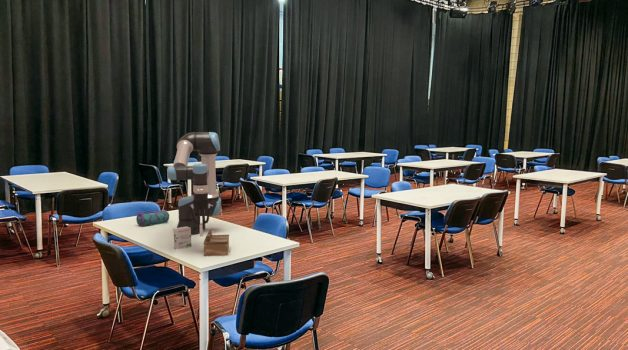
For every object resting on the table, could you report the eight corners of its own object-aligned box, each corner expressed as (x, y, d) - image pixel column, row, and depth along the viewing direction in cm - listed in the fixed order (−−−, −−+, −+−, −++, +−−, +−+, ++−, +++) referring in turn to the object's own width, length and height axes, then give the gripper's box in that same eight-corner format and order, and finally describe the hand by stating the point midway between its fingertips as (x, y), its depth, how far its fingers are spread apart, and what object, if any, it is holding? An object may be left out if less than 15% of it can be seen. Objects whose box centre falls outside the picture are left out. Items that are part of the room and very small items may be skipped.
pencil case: (163, 221, 342) (162, 207, 341) (169, 222, 336) (169, 209, 335) (135, 225, 326) (135, 212, 325) (142, 227, 320) (142, 213, 319)
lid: (206, 236, 267) (206, 229, 266) (229, 235, 268) (229, 229, 268) (203, 244, 250) (203, 237, 250) (227, 243, 252) (227, 236, 252)
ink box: (187, 246, 274) (187, 225, 273) (191, 247, 271) (191, 227, 269) (173, 248, 269) (173, 228, 267) (177, 250, 265) (176, 229, 264)
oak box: (207, 249, 267) (207, 237, 267) (229, 248, 269) (228, 236, 268) (204, 257, 252) (203, 244, 251) (227, 256, 253) (227, 243, 252)
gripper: (187, 193, 251) (188, 237, 254) (212, 193, 252) (213, 237, 255) (189, 191, 258) (190, 234, 261) (213, 191, 260) (214, 233, 263)
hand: (201, 235), depth 258 cm, fingers closed
